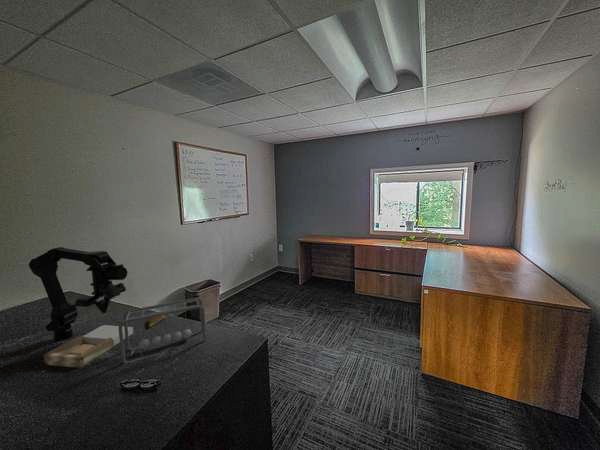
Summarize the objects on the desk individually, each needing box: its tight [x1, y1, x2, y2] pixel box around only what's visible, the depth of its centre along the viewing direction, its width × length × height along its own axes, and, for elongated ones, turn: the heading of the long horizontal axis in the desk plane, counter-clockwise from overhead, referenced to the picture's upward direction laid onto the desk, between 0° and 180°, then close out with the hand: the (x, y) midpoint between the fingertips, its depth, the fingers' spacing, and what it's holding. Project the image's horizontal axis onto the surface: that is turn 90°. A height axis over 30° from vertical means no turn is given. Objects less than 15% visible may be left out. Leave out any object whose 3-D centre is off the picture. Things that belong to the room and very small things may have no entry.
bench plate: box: [83, 324, 134, 347], centre depth 110 cm, size 16×10×3 cm, turn 82°
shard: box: [147, 315, 165, 328], centre depth 124 cm, size 11×8×2 cm
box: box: [43, 334, 114, 369], centre depth 98 cm, size 16×14×4 cm
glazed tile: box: [69, 343, 96, 355], centre depth 99 cm, size 6×6×2 cm
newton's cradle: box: [118, 297, 207, 365], centre depth 102 cm, size 30×10×18 cm, turn 117°
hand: (104, 313), depth 111 cm, fingers closed
